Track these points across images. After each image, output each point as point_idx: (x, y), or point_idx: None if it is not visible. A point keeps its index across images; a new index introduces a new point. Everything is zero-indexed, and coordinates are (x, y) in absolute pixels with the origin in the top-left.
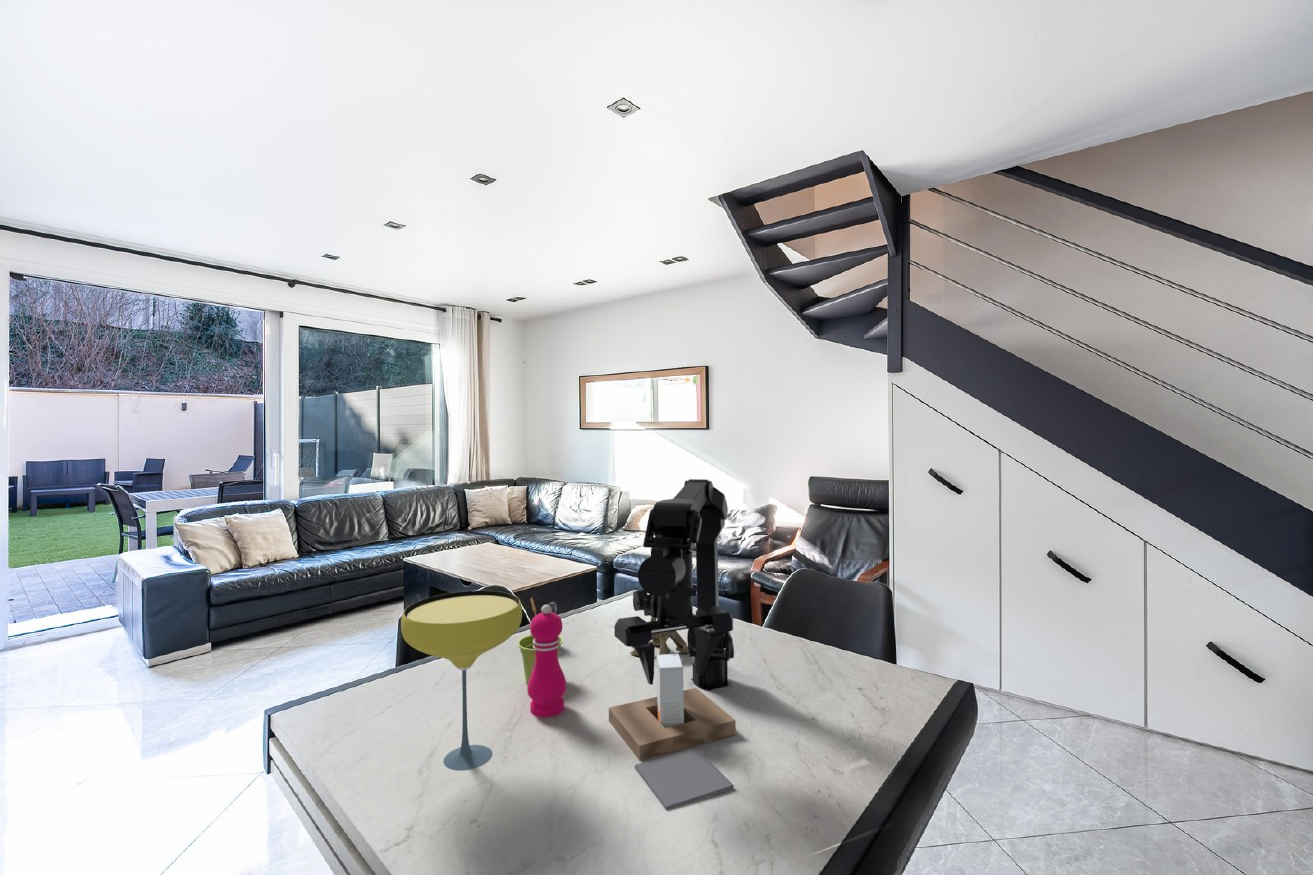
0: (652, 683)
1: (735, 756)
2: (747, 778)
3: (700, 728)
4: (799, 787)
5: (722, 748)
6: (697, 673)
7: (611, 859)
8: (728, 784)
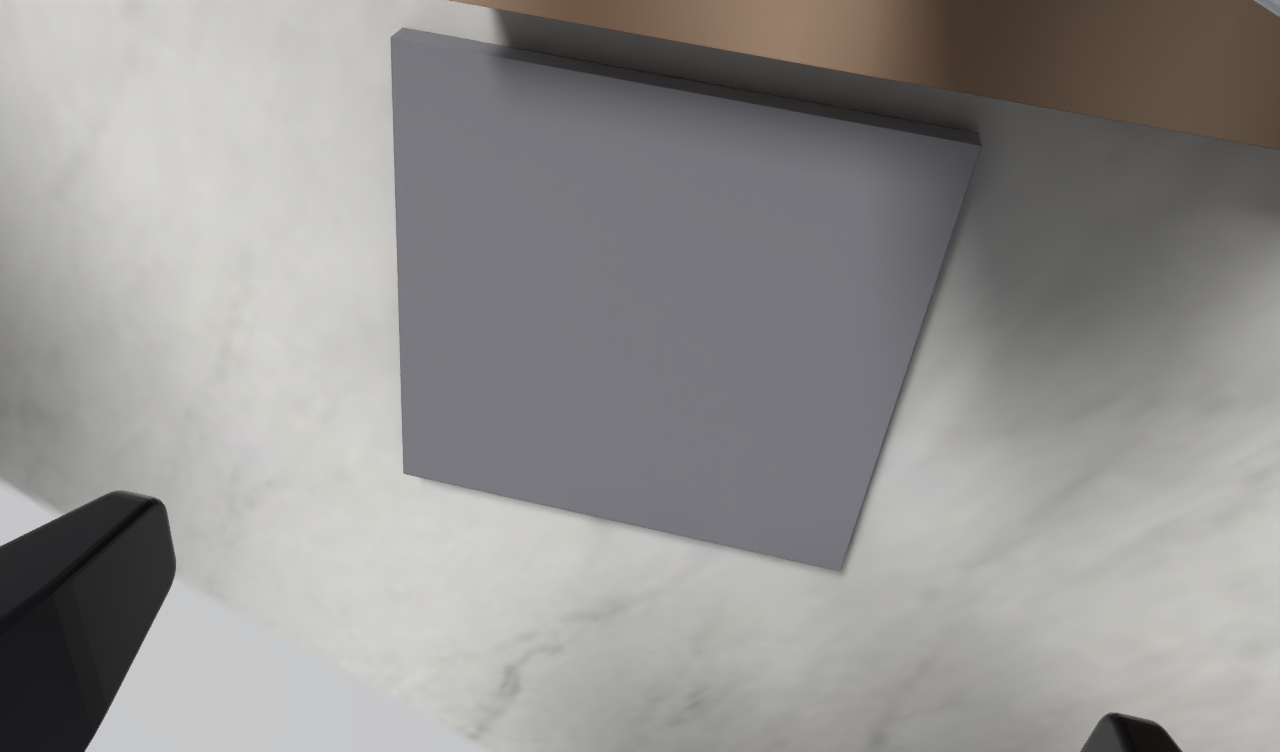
0: (158, 597)
1: (1161, 362)
2: (992, 544)
3: (1145, 103)
4: None
5: (1191, 228)
6: (1097, 740)
7: None
8: (819, 552)
